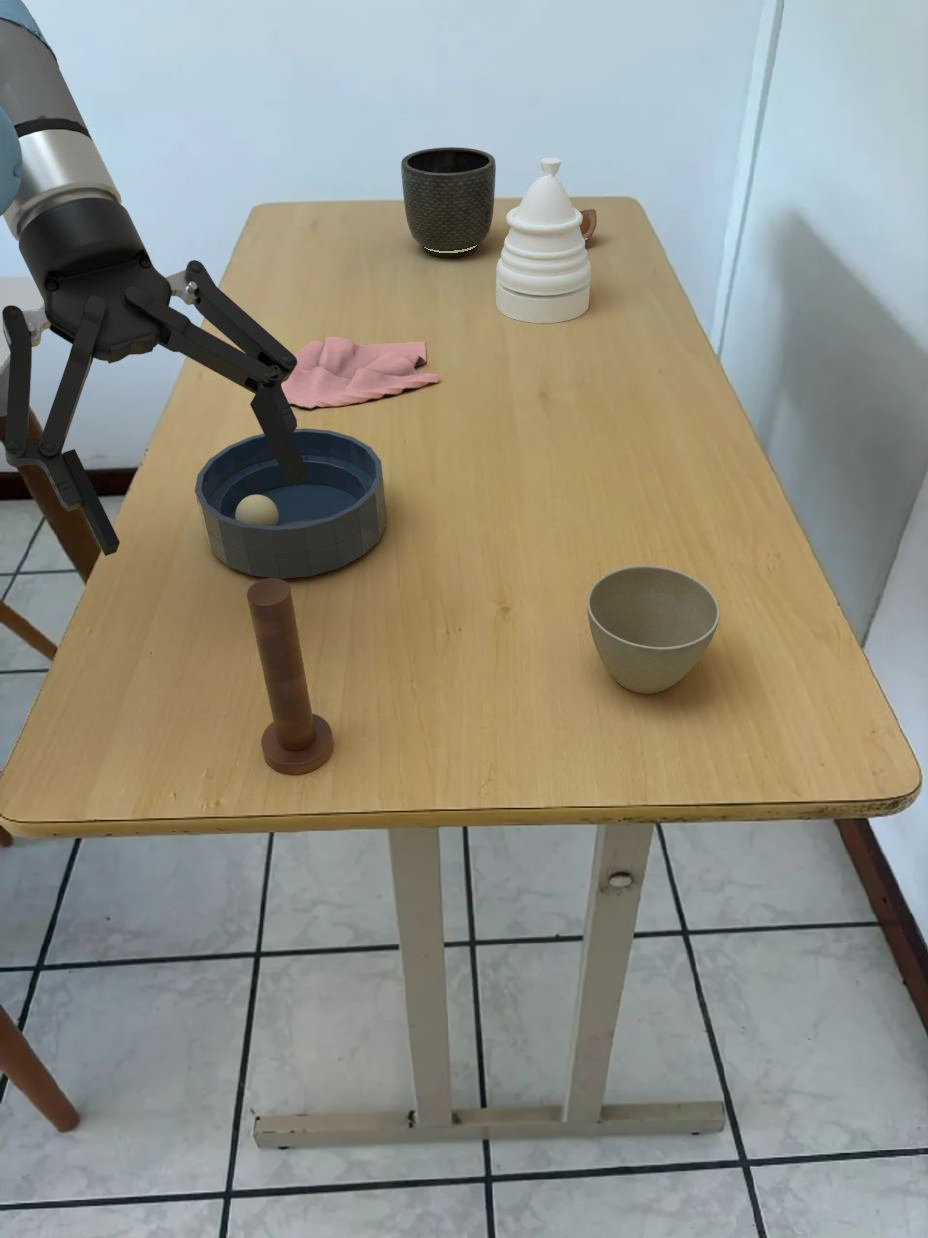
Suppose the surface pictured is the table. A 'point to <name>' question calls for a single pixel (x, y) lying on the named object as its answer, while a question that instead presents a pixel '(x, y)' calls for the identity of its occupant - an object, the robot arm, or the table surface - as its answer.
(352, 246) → the table surface
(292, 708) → the wooden peg stand
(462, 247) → the planter
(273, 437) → the robot arm
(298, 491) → the bowl
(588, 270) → the honey pot
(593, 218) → the fruit slice
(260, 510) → the dough ball
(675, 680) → the flower pot
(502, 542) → the table surface
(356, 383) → the cloth
